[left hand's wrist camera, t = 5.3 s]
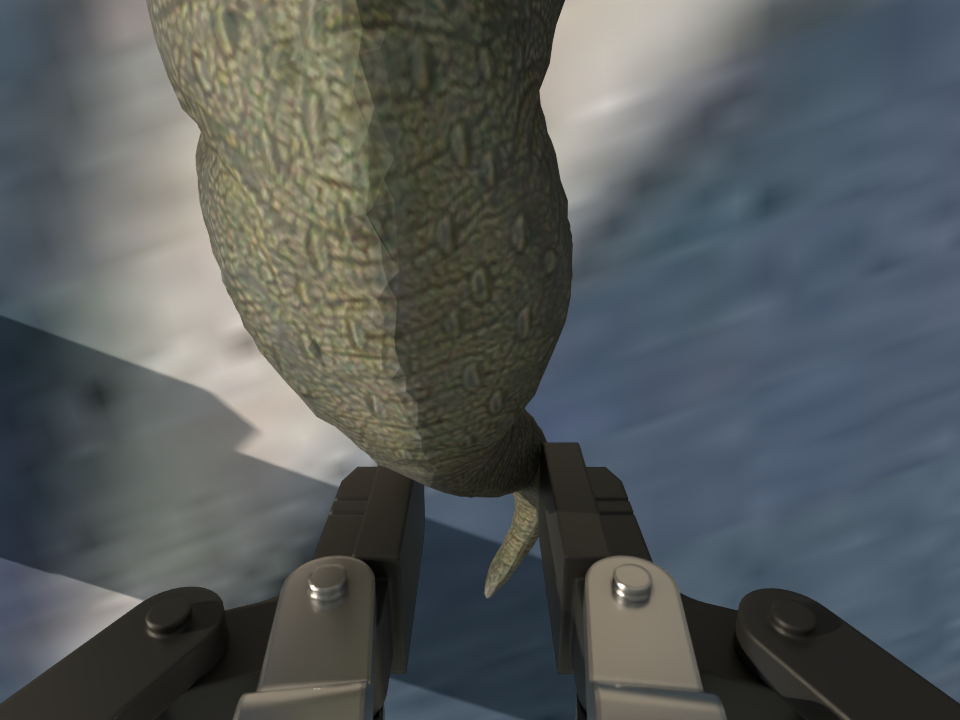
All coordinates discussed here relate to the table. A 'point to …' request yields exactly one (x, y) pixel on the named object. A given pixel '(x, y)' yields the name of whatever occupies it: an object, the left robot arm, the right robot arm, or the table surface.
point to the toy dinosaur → (389, 220)
